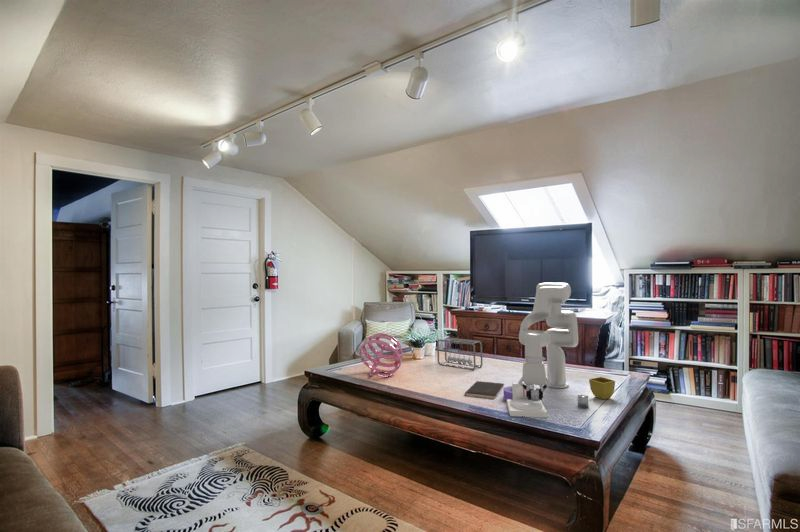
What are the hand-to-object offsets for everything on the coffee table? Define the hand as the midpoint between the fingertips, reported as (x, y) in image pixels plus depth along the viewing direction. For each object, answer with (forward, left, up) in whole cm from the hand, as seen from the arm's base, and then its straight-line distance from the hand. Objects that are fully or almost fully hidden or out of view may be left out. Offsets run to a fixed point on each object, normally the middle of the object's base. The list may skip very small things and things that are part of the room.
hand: (534, 398), depth 188 cm
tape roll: (-17, -7, -6) cm, 19 cm away
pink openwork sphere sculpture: (-58, -85, -6) cm, 103 cm away
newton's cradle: (-85, -37, -6) cm, 93 cm away
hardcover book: (-29, -22, -6) cm, 37 cm away
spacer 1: (0, 0, 0) cm, 0 cm away
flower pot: (-23, +36, -6) cm, 43 cm away
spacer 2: (-8, +23, -6) cm, 25 cm away
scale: (-1, -4, -6) cm, 7 cm away
